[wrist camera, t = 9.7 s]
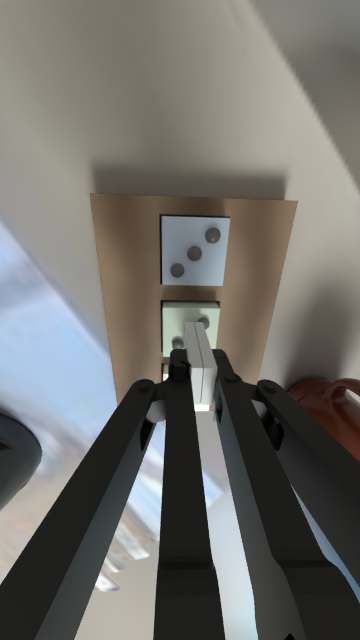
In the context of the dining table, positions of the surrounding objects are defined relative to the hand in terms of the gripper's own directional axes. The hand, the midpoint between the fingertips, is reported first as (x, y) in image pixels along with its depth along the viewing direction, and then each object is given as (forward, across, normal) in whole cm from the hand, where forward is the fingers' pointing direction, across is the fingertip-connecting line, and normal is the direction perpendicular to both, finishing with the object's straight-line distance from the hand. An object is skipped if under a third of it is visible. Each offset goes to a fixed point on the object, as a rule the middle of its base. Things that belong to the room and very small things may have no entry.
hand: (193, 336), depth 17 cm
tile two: (+4, 0, 0) cm, 4 cm away
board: (+4, 0, 0) cm, 4 cm away
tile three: (+4, 0, +7) cm, 8 cm away
